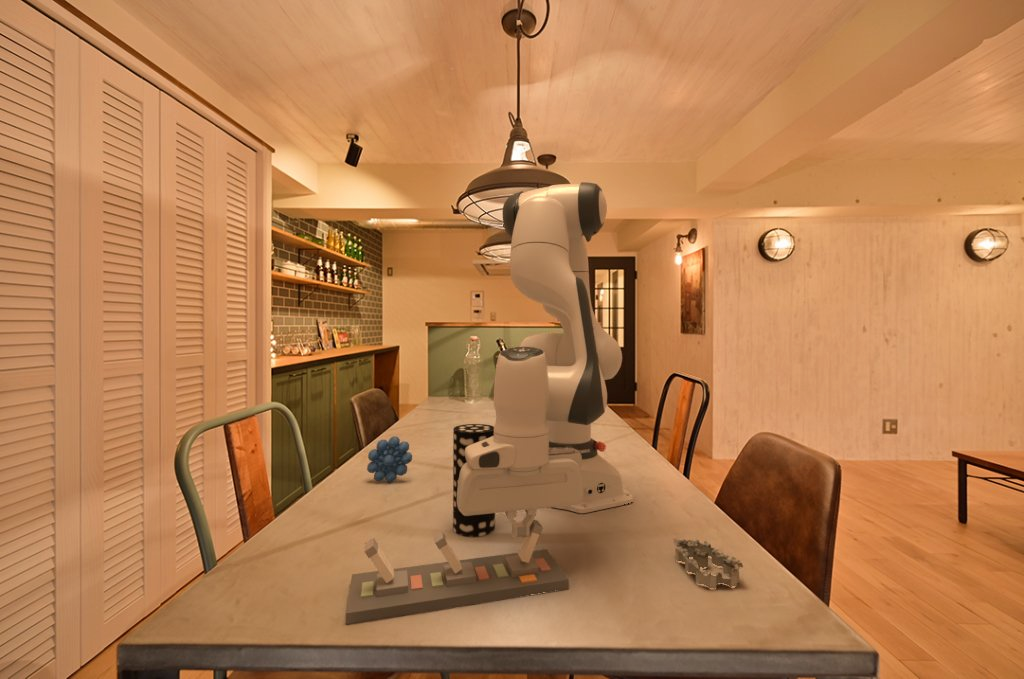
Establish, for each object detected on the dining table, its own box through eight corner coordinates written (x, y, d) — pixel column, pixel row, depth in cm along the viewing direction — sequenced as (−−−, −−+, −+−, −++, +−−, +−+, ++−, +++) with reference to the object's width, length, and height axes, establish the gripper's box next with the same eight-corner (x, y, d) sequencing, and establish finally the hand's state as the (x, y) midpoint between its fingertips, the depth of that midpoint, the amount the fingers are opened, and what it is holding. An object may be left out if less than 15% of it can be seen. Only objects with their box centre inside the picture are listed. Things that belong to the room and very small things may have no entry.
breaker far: (394, 569, 68) (373, 537, 67) (394, 578, 65) (373, 545, 64) (385, 574, 68) (365, 543, 67) (385, 584, 65) (364, 551, 64)
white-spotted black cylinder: (462, 540, 84) (462, 434, 84) (447, 523, 92) (447, 426, 91) (501, 531, 88) (502, 430, 88) (484, 516, 96) (484, 422, 95)
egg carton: (746, 591, 69) (746, 565, 69) (698, 592, 68) (698, 566, 68) (711, 556, 80) (712, 533, 79) (669, 556, 79) (670, 533, 79)
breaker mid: (460, 560, 70) (441, 530, 70) (462, 568, 68) (443, 537, 67) (452, 565, 70) (433, 535, 69) (454, 574, 68) (435, 543, 67)
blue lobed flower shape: (415, 476, 121) (415, 432, 121) (410, 485, 114) (410, 438, 114) (371, 477, 121) (371, 432, 121) (364, 485, 114) (364, 438, 114)
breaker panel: (546, 557, 78) (546, 543, 78) (568, 589, 69) (568, 573, 69) (352, 583, 70) (352, 567, 70) (346, 624, 60) (346, 605, 60)
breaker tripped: (524, 555, 73) (537, 520, 74) (529, 563, 71) (543, 527, 71) (517, 553, 73) (530, 518, 73) (521, 561, 70) (535, 525, 71)
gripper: (574, 441, 77) (573, 521, 77) (455, 448, 72) (454, 534, 72) (589, 450, 71) (588, 537, 71) (461, 459, 66) (460, 552, 66)
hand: (520, 535), depth 72 cm, fingers closed
